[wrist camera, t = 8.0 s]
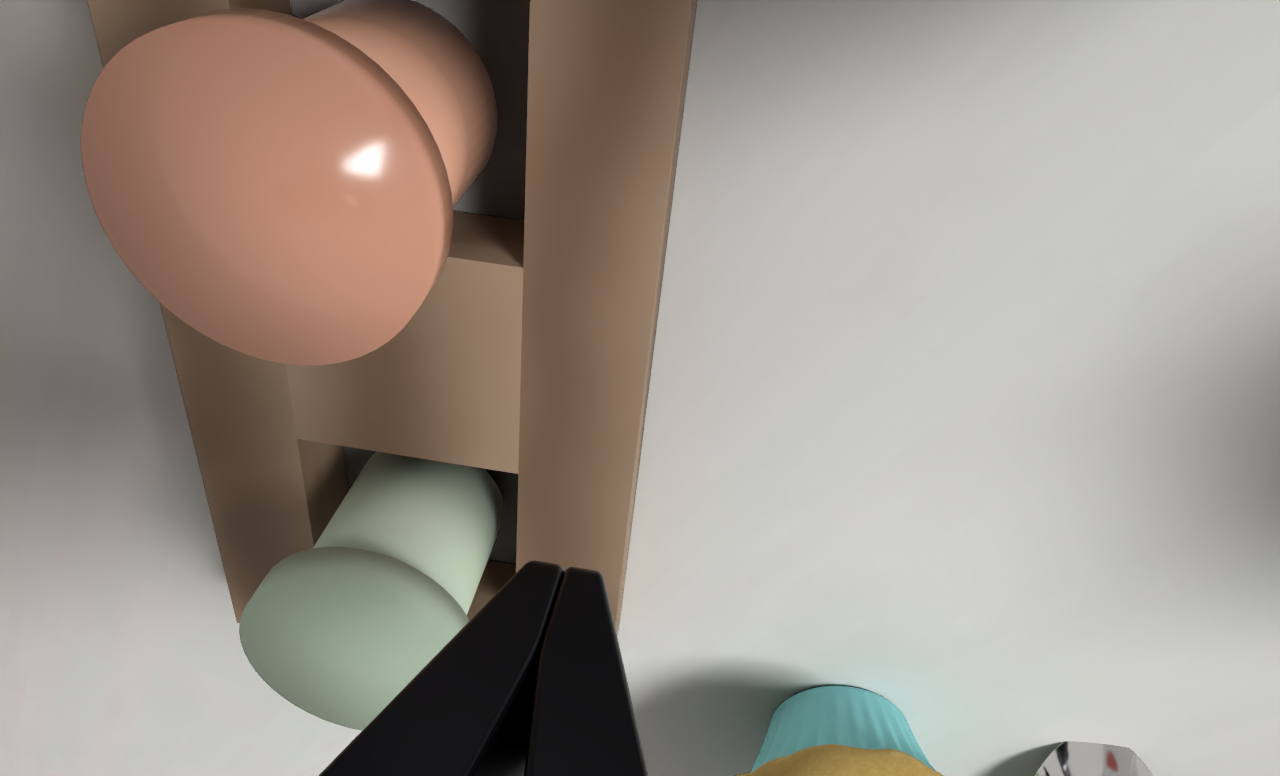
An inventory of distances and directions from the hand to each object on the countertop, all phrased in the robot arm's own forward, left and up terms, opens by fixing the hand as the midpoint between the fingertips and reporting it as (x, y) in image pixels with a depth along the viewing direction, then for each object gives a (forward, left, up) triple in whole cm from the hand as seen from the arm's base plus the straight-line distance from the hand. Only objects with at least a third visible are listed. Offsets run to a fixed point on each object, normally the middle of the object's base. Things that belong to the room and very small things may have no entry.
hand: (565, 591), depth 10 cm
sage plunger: (+6, +11, -12) cm, 17 cm away
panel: (+6, +4, -13) cm, 15 cm away
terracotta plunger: (+6, -1, -11) cm, 13 cm away
